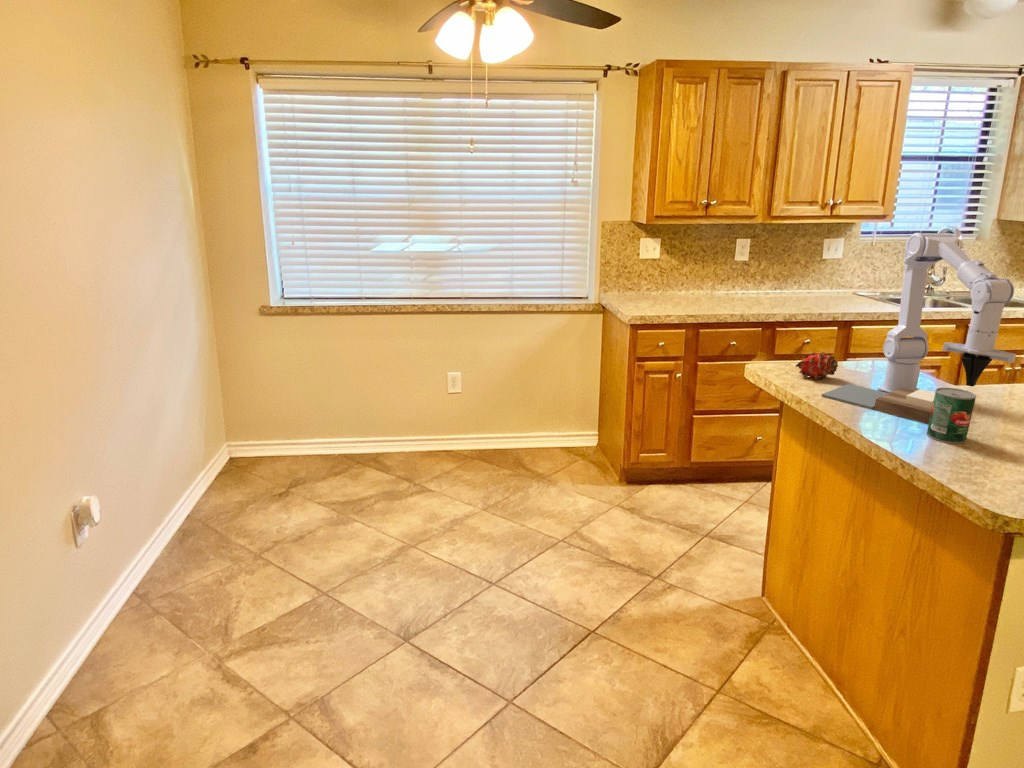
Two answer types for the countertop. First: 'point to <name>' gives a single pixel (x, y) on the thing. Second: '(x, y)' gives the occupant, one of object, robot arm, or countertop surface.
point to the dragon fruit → (817, 365)
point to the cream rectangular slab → (921, 398)
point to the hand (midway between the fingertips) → (970, 385)
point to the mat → (855, 395)
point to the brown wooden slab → (902, 406)
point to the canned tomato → (951, 415)
